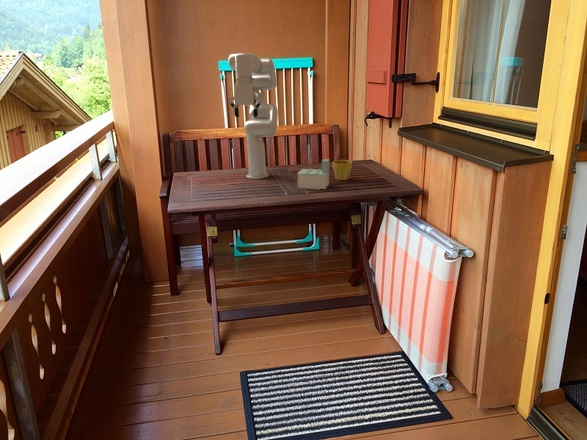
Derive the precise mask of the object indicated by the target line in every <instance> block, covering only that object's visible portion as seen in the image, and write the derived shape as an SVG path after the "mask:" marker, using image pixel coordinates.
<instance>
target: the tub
mask: <svg viewBox="0 0 587 440" xmlns="http://www.w3.org/2000/svg"><path fill="white" fill-rule="evenodd" d="M329 185H330V172H329V173H328V174H327V175H326V176H309V175H297V189H300V190H301V189H303V190H304V189H305V190H320V189H327V188H328V187H327V186H329Z"/></svg>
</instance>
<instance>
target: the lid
mask: <svg viewBox="0 0 587 440" xmlns="http://www.w3.org/2000/svg"><path fill="white" fill-rule="evenodd" d="M328 173H329V174H330V159H329V158H325V159H324V158H323V159H322V160H321V168H318V169H314V168H301V169H300V170H299V171H298V172H297V173H296V175H297V176H298V175H309V176H326V175H327V174H328Z"/></svg>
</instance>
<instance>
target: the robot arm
mask: <svg viewBox="0 0 587 440" xmlns="http://www.w3.org/2000/svg"><path fill="white" fill-rule="evenodd" d="M227 60H228V61H227V62H228V66H229V68H230V70H232V71H234V72H235V78H236V79H235V80H236V83H235V84H234V91H233V92H234V93H233V95H234V96H232V97H230V98H229V99H228V103H229V105H230V106H231V107H232V109H233V115H234V117H235V118H239V117H240V111H239V108H238V107H239V106H249V108H248V110H249V111H248V112H249V113H248V117H249V119H248V120H246V121H245V122H244V133H245V137H246V146H247V148H246V149H247V161H248V163H247V164H248V173H246V178H248V179H250V180H251V179H257V180H259V179H265V178H269V173H268V172H267V171H266V169H267V166H266V150H265V149H266V148H265V142H264V140H262V139H261V138H272V137H275V136H276V135H277V132H278V131H277V130H278V118H279V116H278V115H279V111H278V107H277V106H276V104H274V103H266V101H267V100H266V98H265V96H264V95H263V93H261V92H260V91H271V90H273V91H274V90H276V88H277V85H278V81H277V80H278V79H277V73H276V72H277V71H276V68H275V63H274V61H273V59H272V58H271V57H260V58H259V57H258V56H257V55H256V54H255V53H254V52H253V53H252V52H240V53H239V52H235V53H230V55H228V59H227ZM233 101H234V102H233Z"/></svg>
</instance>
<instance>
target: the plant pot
mask: <svg viewBox="0 0 587 440" xmlns="http://www.w3.org/2000/svg"><path fill="white" fill-rule="evenodd" d="M331 166H332V169H333V172H334V177H335V180H336V179H337V180H336V181H338V180H346V181H348V180H349V177H350V173H351V169H352V168H353V161H352V160H349V159H336V160H333V161H332V165H331ZM347 179H348V180H347Z"/></svg>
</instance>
